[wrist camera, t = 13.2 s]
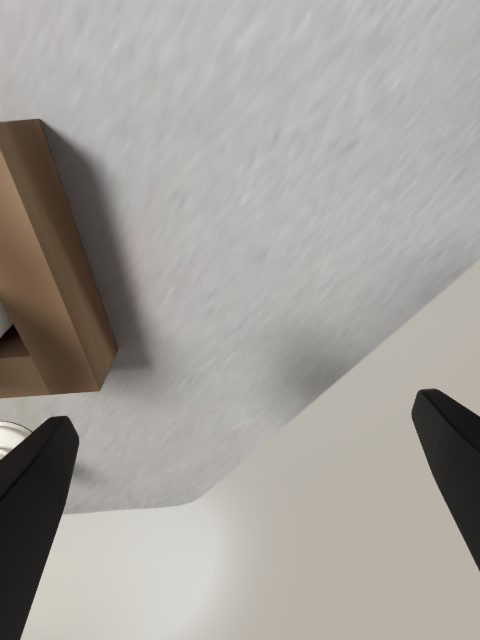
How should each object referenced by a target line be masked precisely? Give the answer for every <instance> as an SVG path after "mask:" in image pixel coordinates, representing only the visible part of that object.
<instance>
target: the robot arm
mask: <svg viewBox="0 0 480 640" xmlns="http://www.w3.org/2000/svg"><path fill="white" fill-rule="evenodd" d="M412 420H413V422H414V425H415V428H416V431H417V433H418V436H419V439H420V442H421V445H422V447H423V450H424V453H425V455H426V458H427V461H428V464H429V466H430V469H431V471H432V474H433V476H434V479H435V481H436V483H437V485H438V487H439V489H440V491H441V493H442V496H443V497H444V500H445V502H446V504H447V506H448V508H449V510H450V512H451V514H452V516H453V518H454V520H455V522H456V524H457V526H458V528H459V530H460V532H461V534H462V536H463V538H464V540H465V542H466V544H467V546H468V548H469V550H470V552H471V554H472V557H473V559H474V560H475V563H476V565H477V567H478V569H479V571H480V417H479V416H478V415H476V414H475V413H473V412H472V411H470V410H469V409H467V408H466V407H464V406H463V405H461V404H459V403H458V402H457V401H455V400H453V399H452V398H450V397H449V396H447V395H446V394H444V393H443V392H441V391H440V390H437V389H422V390H419V391H418V393H417V396H416V399H415V402H414V405H413V409H412ZM78 447H79V436H78V434H77V432H76V430H75V428H74V426H73V424H72V422H71V420H70V419H69V417H67V416H56V417H51V418H49V419H47V420H46V421H45V422H44V423H43V424H41V425H40V426H39V427H38V428H37V429H36V430H34V431H33V432H32V433H31V434H30V435H29V436H27V437H26V438H25V439H24V440H23V441H22V442H20V443H19V444H18V445H17V446H16V447H15V448H13V449H12V450H11V451H10V452H9V453H8V454H6V455H5V456H4V457H3V458H2V459H1V460H0V640H20V638H21V635H22V632H23V629H24V627H25V624H26V621H27V617H28V614H29V612H30V609H31V605H32V603H33V600H34V597H35V594H36V591H37V588H38V585H39V581H40V579H41V576H42V573H43V570H44V567H45V564H46V561H47V558H48V555H49V552H50V549H51V546H52V543H53V540H54V537H55V534H56V531H57V528H58V525H59V522H60V519H61V516H62V513H63V510H64V507H65V504H66V500H67V496H68V491H69V487H70V483H71V478H72V474H73V469H74V465H75V460H76V456H77V451H78Z"/></svg>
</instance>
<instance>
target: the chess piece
mask: <svg viewBox="0 0 480 640" xmlns="http://www.w3.org/2000/svg"><path fill="white" fill-rule="evenodd" d="M31 433H32V432H30V431H29V430H27V429H26V428H24V427H22V426H20V425H17V424H14V423H10V422H2V421H0V460H1V459H2V458H3V457H4V456H5V455H6V454H8V453H9V452H10V451H11V450H12V449H13V448H15V447H16V446H17V445H18V444H19V443H20V442H22V441H23V440H24V439H25V438H26V437H27V436H29V435H30V434H31Z"/></svg>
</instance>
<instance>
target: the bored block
mask: <svg viewBox="0 0 480 640" xmlns="http://www.w3.org/2000/svg"><path fill="white" fill-rule="evenodd" d="M0 299H1V301H2V303H3V305H4V307H5V309H6V311H7V313H8V314H9V316H10V318H11V320H12V322H13V325H12V326H11V327H10V328H9V329H8V330H7V331H6V332H5V333H4V334H3V335H2V337H1V338H0V398H11V397H25V396H39V395H53V394H66V393H80V392H94V391H100V390H101V388H102V385H103V383H104V381H105V378H106V376H107V374H108V371H109V369H110V367H111V365H112V362H113V360H114V358H115V355H116V353H117V351H118V349H117V346H116V343H115V340H114V337H113V334H112V331H111V328H110V325H109V322H108V319H107V316H106V313H105V310H104V307H103V305H102V302H101V299H100V296H99V293H98V290H97V287H96V284H95V281H94V278H93V275H92V272H91V269H90V266H89V263H88V260H87V258H86V255H85V252H84V249H83V246H82V243H81V240H80V237H79V234H78V231H77V228H76V225H75V222H74V219H73V216H72V213H71V210H70V208H69V205H68V202H67V199H66V196H65V193H64V190H63V187H62V184H61V181H60V178H59V175H58V172H57V169H56V166H55V163H54V160H53V158H52V155H51V152H50V149H49V146H48V143H47V140H46V137H45V134H44V131H43V128H42V125H41V122H40V119H30V120H18V121H6V122H0Z"/></svg>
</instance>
